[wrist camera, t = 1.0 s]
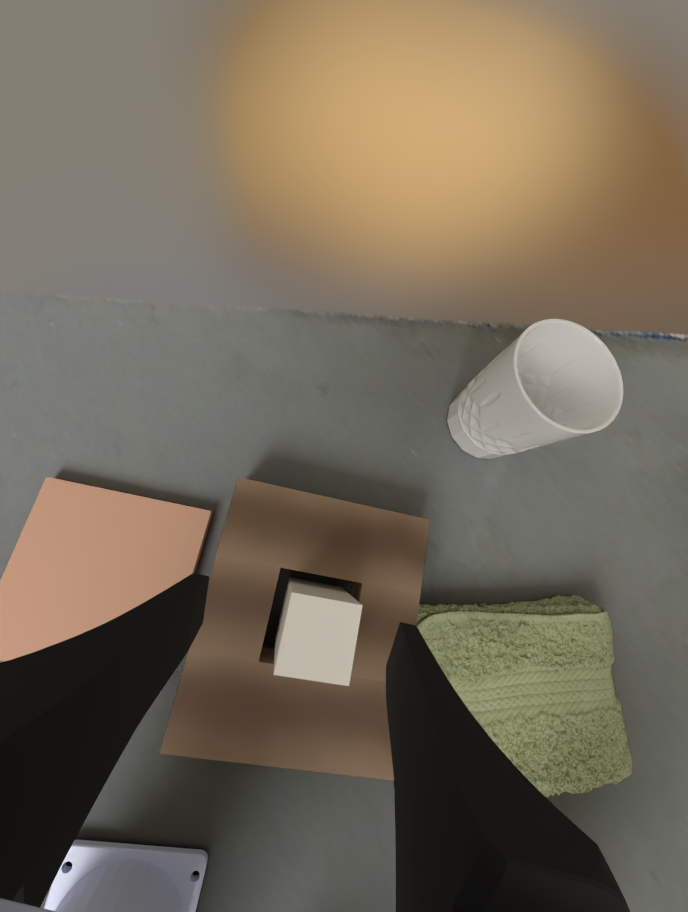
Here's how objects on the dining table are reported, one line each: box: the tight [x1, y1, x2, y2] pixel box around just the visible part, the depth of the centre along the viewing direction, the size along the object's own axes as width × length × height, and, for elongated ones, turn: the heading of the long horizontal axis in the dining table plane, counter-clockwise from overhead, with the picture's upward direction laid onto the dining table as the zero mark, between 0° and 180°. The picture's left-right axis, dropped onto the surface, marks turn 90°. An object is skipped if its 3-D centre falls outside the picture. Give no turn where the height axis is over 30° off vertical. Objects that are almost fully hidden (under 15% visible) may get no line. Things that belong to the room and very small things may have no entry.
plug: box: [273, 577, 363, 686], centre depth 21 cm, size 4×4×7 cm
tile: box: [0, 477, 213, 661], centre depth 22 cm, size 11×11×1 cm
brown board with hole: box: [159, 477, 430, 781], centre depth 23 cm, size 16×14×3 cm
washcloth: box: [417, 595, 632, 797], centre depth 25 cm, size 13×18×3 cm
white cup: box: [447, 319, 623, 459], centre depth 26 cm, size 8×8×10 cm
